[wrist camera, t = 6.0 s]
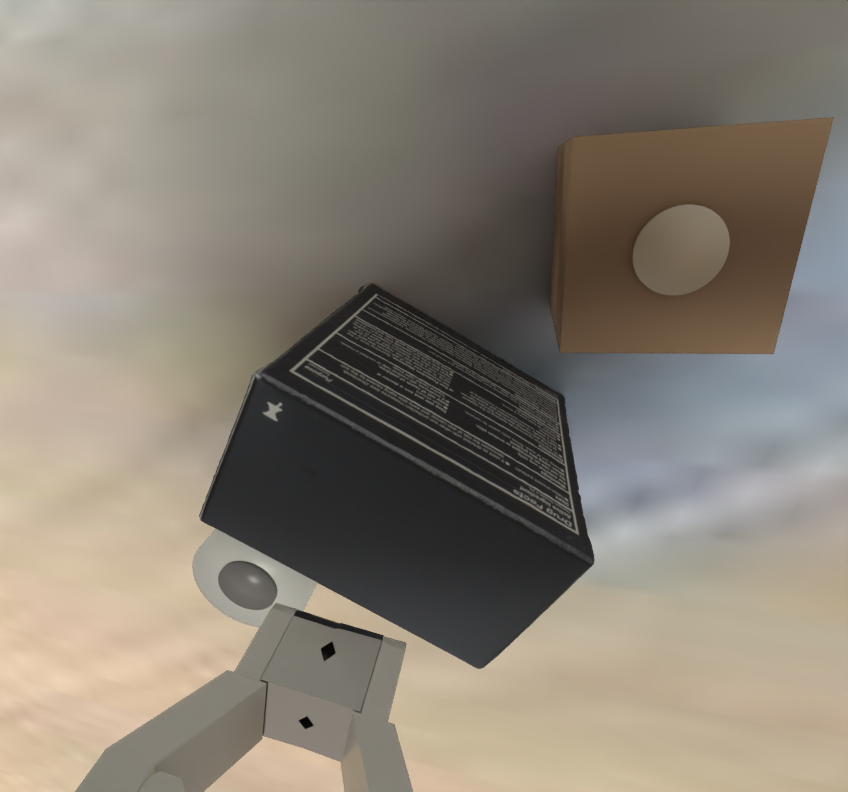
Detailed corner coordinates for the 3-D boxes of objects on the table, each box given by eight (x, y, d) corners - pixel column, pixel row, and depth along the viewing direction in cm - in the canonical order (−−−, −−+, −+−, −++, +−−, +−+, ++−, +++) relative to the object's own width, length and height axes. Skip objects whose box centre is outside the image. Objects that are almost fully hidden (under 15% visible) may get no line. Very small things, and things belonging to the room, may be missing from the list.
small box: (314, 390, 24) (184, 526, 15) (367, 277, 21) (248, 358, 12) (494, 492, 25) (478, 685, 15) (570, 395, 22) (607, 561, 13)
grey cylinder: (258, 451, 26) (188, 524, 21) (354, 478, 26) (310, 560, 21) (253, 527, 29) (190, 611, 23) (342, 553, 29) (299, 645, 23)
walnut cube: (558, 147, 18) (574, 136, 12) (734, 135, 17) (839, 116, 11) (550, 305, 20) (560, 354, 15) (703, 304, 19) (776, 356, 14)
